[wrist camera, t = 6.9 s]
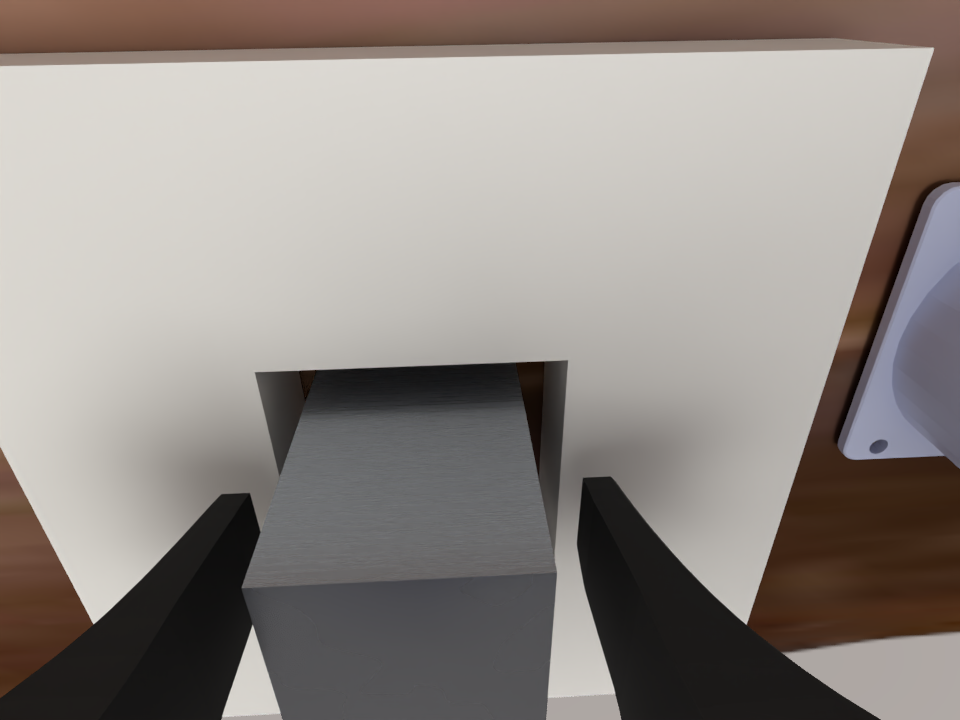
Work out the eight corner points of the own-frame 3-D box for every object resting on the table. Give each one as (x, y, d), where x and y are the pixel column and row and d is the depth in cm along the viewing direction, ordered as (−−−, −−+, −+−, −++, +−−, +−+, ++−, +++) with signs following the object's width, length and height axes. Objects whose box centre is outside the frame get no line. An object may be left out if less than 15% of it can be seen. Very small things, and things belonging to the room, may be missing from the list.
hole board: (834, 37, 13) (934, 47, 10) (692, 606, 22) (725, 687, 19) (-60, 55, 12) (-198, 69, 9) (181, 633, 21) (144, 721, 19)
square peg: (507, 321, 16) (556, 572, 9) (506, 458, 18) (544, 741, 11) (331, 327, 16) (241, 587, 9) (352, 464, 18) (294, 756, 11)
